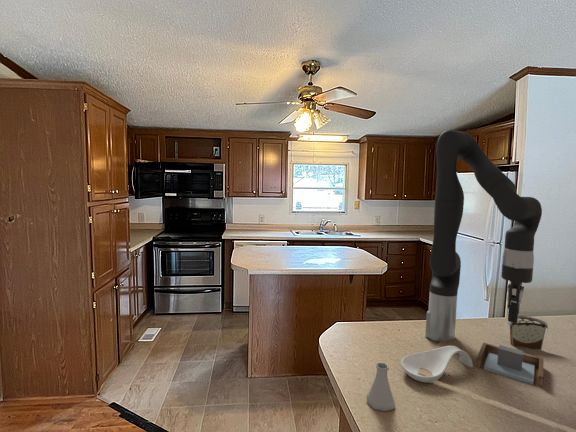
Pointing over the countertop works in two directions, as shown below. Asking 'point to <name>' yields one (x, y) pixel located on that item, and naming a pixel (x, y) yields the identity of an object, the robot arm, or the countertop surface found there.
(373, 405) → the flask
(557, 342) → the countertop surface
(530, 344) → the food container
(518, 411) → the countertop surface
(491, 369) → the cover plate
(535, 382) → the open-fronted box
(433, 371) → the spoon rest
